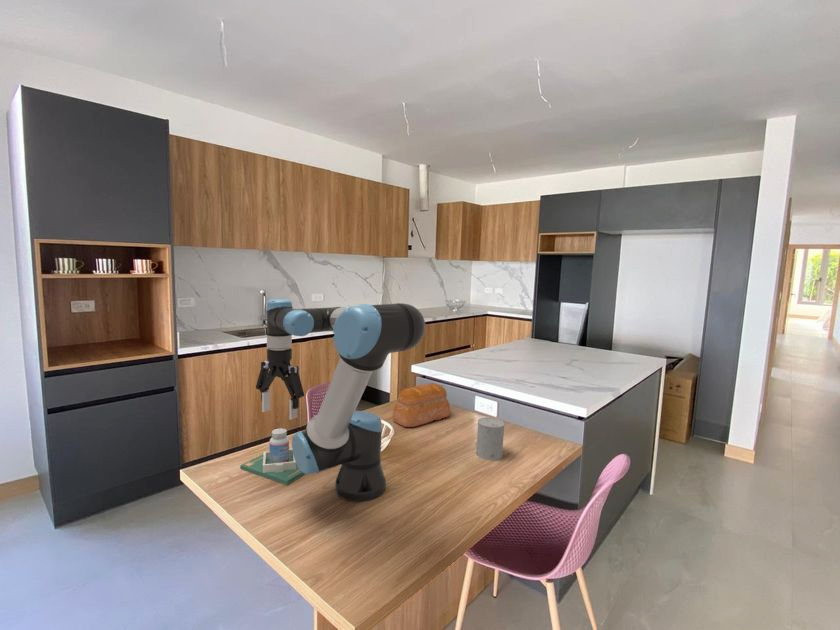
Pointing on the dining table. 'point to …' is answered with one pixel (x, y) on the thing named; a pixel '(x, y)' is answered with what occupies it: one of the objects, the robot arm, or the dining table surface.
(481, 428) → the grey concrete cylinder
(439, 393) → the bread
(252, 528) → the dining table surface
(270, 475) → the board
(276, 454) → the pill bottle
